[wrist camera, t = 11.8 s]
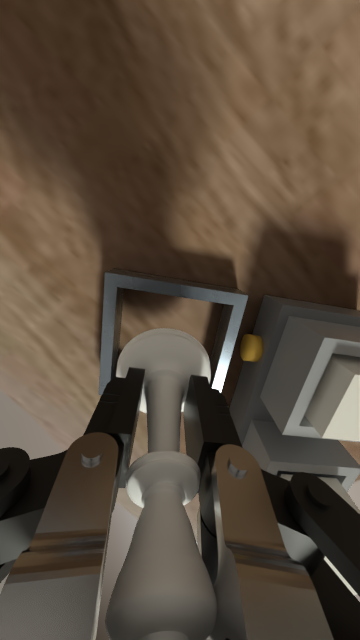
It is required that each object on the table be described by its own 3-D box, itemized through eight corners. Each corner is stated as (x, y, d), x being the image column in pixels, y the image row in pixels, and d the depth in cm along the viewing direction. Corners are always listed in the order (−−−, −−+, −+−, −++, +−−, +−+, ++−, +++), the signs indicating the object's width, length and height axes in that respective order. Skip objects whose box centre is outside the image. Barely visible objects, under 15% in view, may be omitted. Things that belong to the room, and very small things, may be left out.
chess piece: (97, 357, 11) (-377, 1151, 1) (181, 309, 10) (379, 1095, 1) (150, 420, 12) (103, 989, 3) (225, 382, 12) (465, 925, 2)
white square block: (306, 340, 12) (354, 374, 9) (362, 348, 12) (429, 384, 9) (285, 391, 13) (322, 437, 10) (337, 397, 14) (388, 444, 10)
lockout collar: (114, 268, 13) (105, 272, 11) (238, 288, 14) (248, 295, 12) (107, 377, 16) (98, 394, 14) (211, 389, 17) (216, 407, 15)
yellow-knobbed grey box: (253, 292, 14) (300, 320, 9) (357, 309, 15) (454, 344, 10) (207, 448, 19) (222, 525, 14) (288, 455, 20) (330, 530, 15)
